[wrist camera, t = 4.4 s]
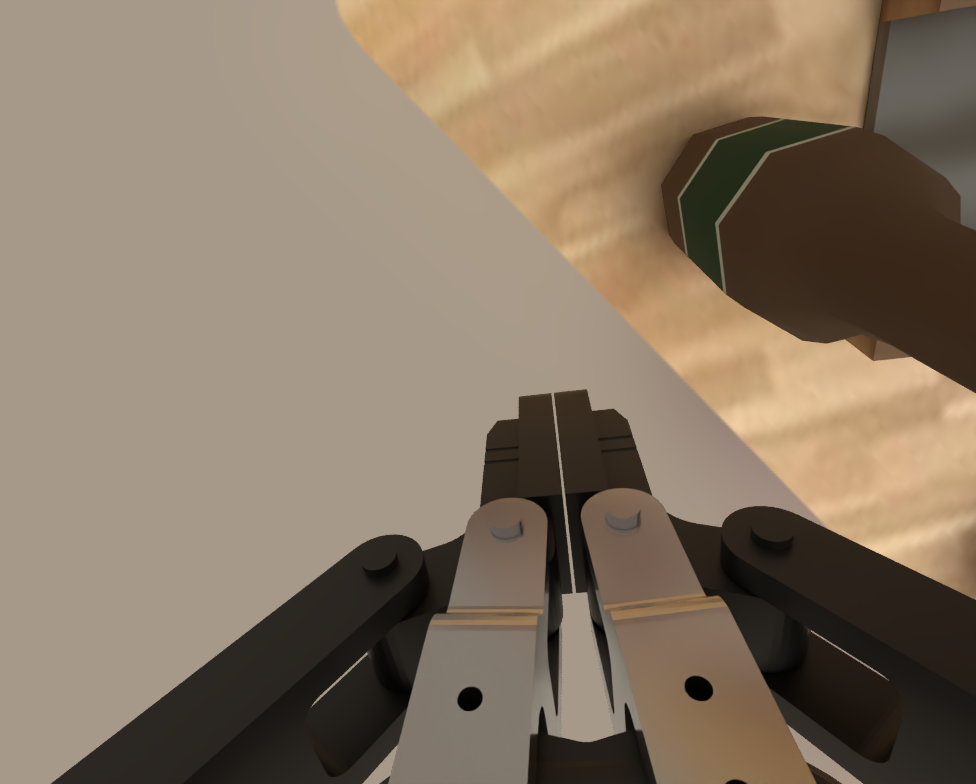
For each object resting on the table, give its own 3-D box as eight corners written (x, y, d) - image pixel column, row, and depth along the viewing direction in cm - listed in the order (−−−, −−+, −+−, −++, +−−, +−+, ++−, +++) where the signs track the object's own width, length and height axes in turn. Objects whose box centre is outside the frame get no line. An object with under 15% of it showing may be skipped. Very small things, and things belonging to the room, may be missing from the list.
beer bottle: (629, 180, 32) (847, 362, 11) (757, 80, 29) (1381, 57, 8) (699, 284, 34) (985, 593, 13) (822, 200, 32) (1420, 421, 11)
